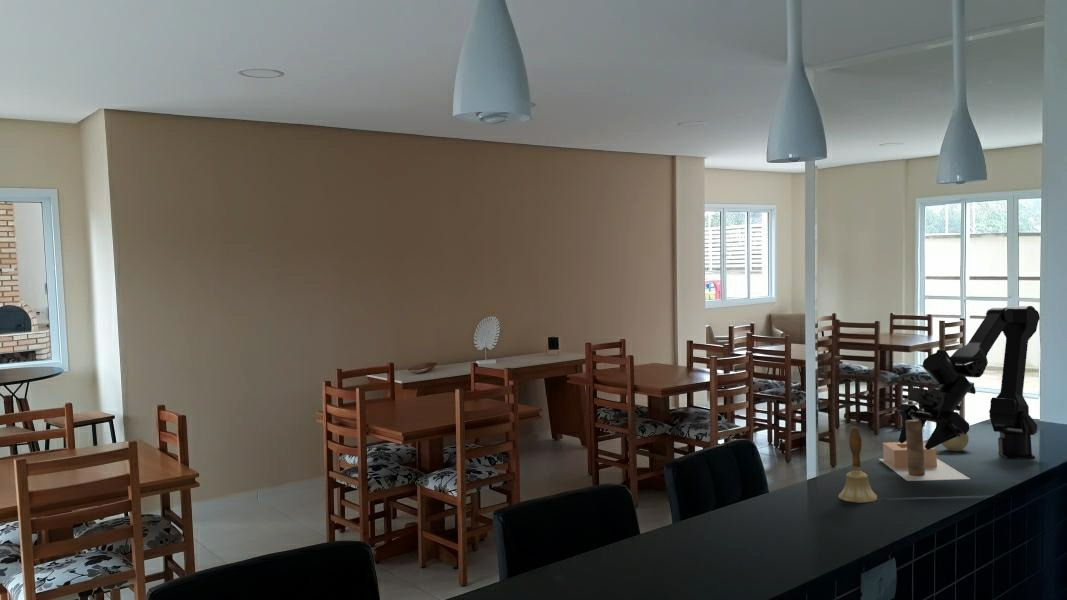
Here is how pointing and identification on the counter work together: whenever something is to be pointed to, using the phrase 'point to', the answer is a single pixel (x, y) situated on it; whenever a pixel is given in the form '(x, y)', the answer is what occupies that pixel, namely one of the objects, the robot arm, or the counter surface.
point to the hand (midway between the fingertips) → (912, 445)
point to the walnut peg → (915, 447)
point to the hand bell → (857, 475)
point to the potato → (956, 443)
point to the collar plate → (930, 472)
